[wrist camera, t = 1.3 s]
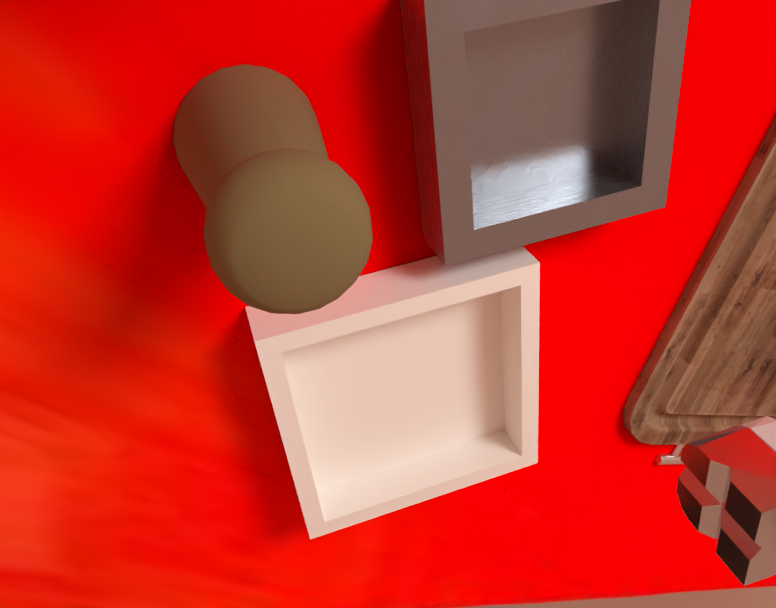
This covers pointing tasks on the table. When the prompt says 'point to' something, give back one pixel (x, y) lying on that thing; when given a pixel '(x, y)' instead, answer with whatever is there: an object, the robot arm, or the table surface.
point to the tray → (406, 385)
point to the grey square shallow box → (539, 115)
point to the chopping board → (718, 328)
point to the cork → (270, 192)
